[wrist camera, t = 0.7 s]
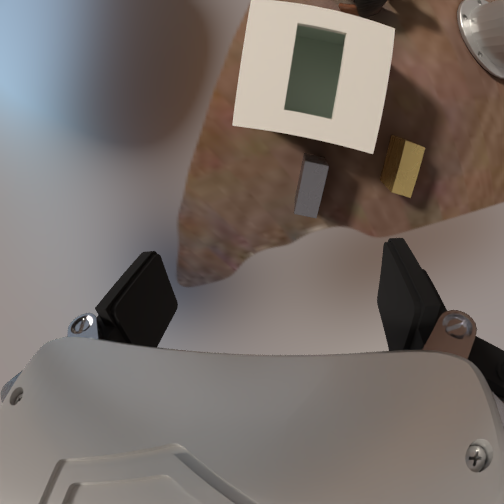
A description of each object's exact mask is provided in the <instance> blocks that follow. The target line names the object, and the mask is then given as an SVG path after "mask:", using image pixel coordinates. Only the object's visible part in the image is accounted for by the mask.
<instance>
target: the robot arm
mask: <svg viewBox="0 0 504 504" xmlns="http://www.w3.org/2000/svg"><path fill="white" fill-rule="evenodd" d="M457 19H458V25H459V29H460V32H461V35H462V37H463V40H464V41H465V43H466V45H467V47H468V49H469V50H470V52H471V53H472V55H473V56H474V58H475V59H476V60H477V61H478V63H479V64H480V65H481V66H482V67H483V68H484V69H485V70H487V71H488V72H489V73H490V74H492V75H494V76H496V77H498V78H502V79H504V0H496V1H493V2H490V3H489V2H487V1H485V0H464V1H462V2H461V4H460V5H459V8H458V11H457ZM377 303H378V308H379V312H380V315H381V319H382V323H383V327H384V331H385V335H386V339H387V342H388V347H389V351H382V352H366V353H352V354H351V353H350V354H328V355H245V354H226V353H210V352H197V351H185V350H175V349H165V348H157V346H158V344H159V342H160V340H161V338H162V336H163V335H164V333H165V331H166V329H167V327H168V325H169V323H170V321H171V319H172V317H173V315H174V314H175V312H176V310H177V305H178V304H177V300H176V298H175V295H174V292H173V290H172V287H171V284H170V281H169V279H168V276H167V273H166V270H165V268H164V265H163V262H162V259H161V256H160V255H159V254H157V253H156V252H155V251H150V252H143V253H141V255H140V256H139V257H138V258H137V259H136V260H135V261H134V262H133V264H132V265H131V266H130V267H129V268H128V269H127V271H126V272H125V273H124V274H123V275H122V276H121V277H120V279H119V280H118V281H117V282H116V283H115V284H114V286H113V287H112V288H111V289H110V291H109V292H108V293H107V294H106V295H105V296H104V298H103V299H102V300H101V301H100V303H99V304H98V305H97V307H96V308H95V309H96V311H97V313H98V317H97V318H96V316H95V315H94V314H92V313H86V314H82V315H80V316H78V317H77V318H75V319H74V320H73V321H72V322H71V324H70V325H69V327H68V336H67V337H63V338H59V339H55V340H52V341H50V342H47V343H46V344H44V345H43V346H42V347H41V348H40V349H39V350H38V351H37V353H36V354H35V355H34V356H33V357H32V359H31V360H30V361H29V363H28V364H27V365H26V367H25V368H24V369H23V370H22V371H21V372H20V373H18V374H17V375H16V376H15V377H13V378H12V379H11V380H10V381H9V382H7V383H6V384H5V385H4V387H3V388H2V391H1V400H2V405H1V407H0V504H504V351H503V350H501V349H499V348H498V347H496V346H494V345H492V344H490V343H488V342H486V341H484V340H482V339H480V338H478V337H477V336H476V331H477V328H476V324H475V322H474V321H473V319H472V318H471V317H470V316H469V315H467V314H465V313H464V312H461V311H458V310H450V311H447V310H446V308H445V306H444V304H443V302H442V300H441V298H440V296H439V294H438V292H437V290H436V288H435V287H434V285H433V283H432V281H431V279H430V278H429V276H428V274H427V272H426V271H425V270H423V269H422V268H421V267H420V265H419V263H418V262H417V260H416V258H415V257H414V255H413V253H412V252H411V250H410V248H409V247H408V245H407V243H406V242H405V240H404V239H403V238H390V239H389V240H388V242H385V243H384V247H383V257H382V267H381V275H380V283H379V290H378V297H377Z"/></svg>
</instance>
